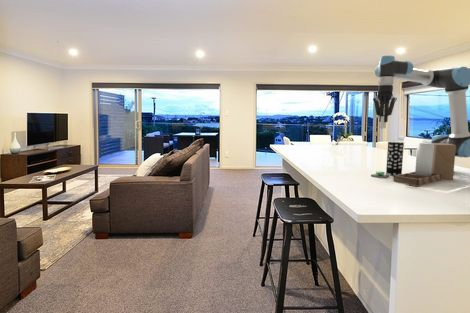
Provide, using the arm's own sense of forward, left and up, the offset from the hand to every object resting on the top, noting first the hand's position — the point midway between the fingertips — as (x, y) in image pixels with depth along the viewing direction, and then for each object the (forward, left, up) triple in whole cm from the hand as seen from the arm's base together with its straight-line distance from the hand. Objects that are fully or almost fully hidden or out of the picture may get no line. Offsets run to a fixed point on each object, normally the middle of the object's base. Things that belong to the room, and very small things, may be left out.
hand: (382, 128), depth 196 cm
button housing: (0, 0, -28) cm, 28 cm away
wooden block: (-26, +21, -29) cm, 44 cm away
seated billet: (-12, +18, -28) cm, 35 cm away
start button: (0, 0, -27) cm, 27 cm away
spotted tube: (-13, +1, -29) cm, 31 cm away
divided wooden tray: (-6, +18, -28) cm, 34 cm away
